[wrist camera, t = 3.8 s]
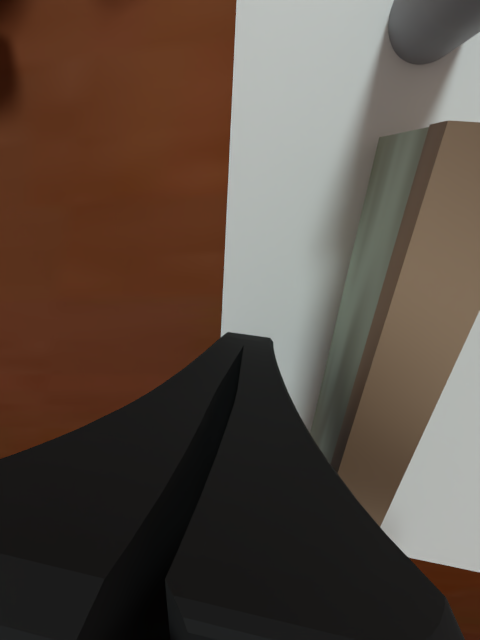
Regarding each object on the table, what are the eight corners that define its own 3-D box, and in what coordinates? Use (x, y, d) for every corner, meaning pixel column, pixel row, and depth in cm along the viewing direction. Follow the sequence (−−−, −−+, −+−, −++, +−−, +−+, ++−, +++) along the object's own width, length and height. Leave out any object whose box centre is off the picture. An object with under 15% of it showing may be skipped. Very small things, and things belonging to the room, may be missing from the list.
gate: (319, 528, 14) (325, 661, 10) (282, 521, 14) (275, 648, 11) (439, 141, 7) (584, 129, 4) (365, 136, 7) (430, 119, 4)
